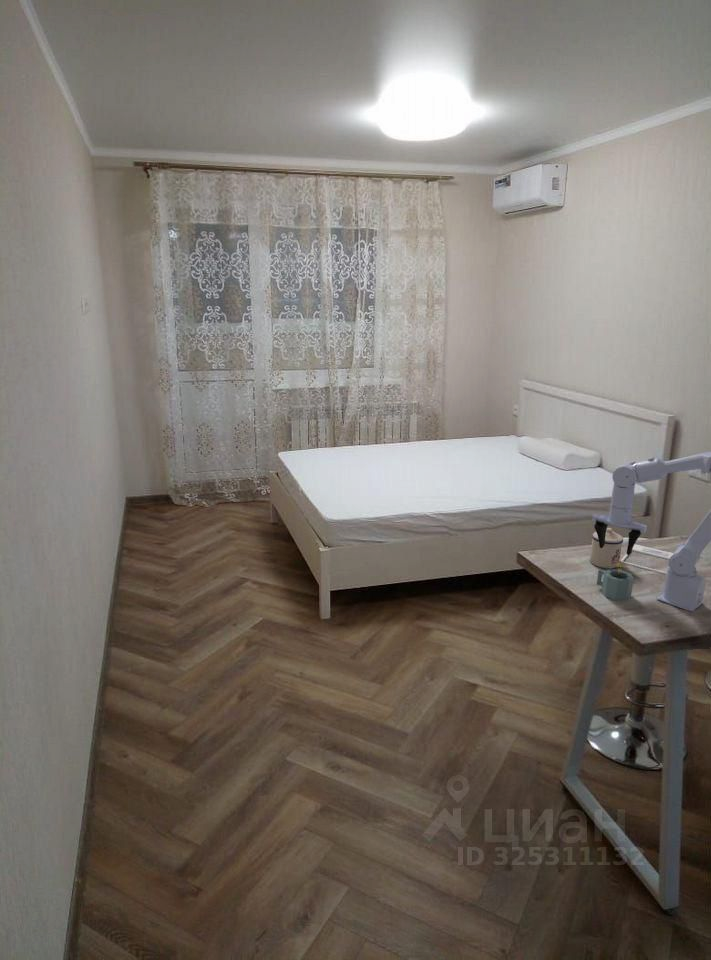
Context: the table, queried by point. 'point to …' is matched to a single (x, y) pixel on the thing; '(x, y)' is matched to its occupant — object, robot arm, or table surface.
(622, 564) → the plunger
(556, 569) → the table surface
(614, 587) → the tea press body
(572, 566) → the table surface
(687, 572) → the robot arm
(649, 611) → the table surface
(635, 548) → the photo frame
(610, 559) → the teacup with lid
